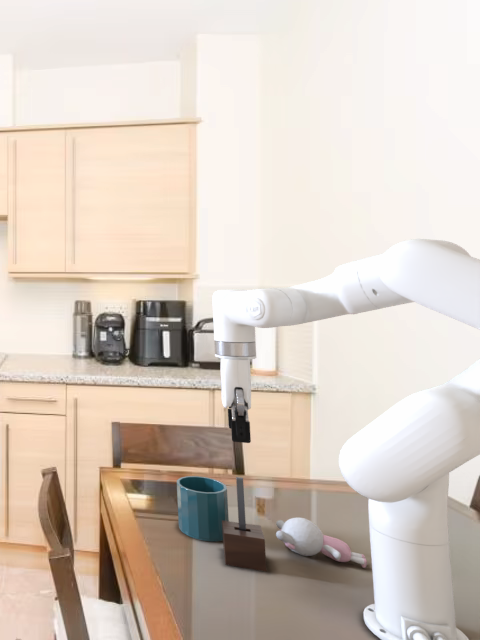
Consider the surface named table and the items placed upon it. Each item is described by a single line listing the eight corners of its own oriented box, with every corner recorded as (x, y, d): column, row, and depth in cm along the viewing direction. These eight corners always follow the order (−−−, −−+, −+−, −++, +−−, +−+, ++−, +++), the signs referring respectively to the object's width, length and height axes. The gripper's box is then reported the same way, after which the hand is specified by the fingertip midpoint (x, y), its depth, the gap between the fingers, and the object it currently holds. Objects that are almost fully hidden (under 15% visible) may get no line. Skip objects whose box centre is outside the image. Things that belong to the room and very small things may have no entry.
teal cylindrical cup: (231, 544, 107) (228, 496, 108) (178, 536, 111) (176, 489, 112) (227, 524, 117) (225, 479, 117) (179, 517, 121) (177, 473, 121)
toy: (351, 572, 103) (270, 529, 110) (365, 542, 102) (282, 500, 109) (359, 594, 96) (271, 546, 103) (374, 562, 95) (284, 515, 102)
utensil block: (266, 571, 97) (264, 539, 97) (225, 564, 100) (223, 533, 100) (262, 556, 103) (260, 525, 103) (223, 550, 105) (221, 520, 106)
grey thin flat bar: (250, 562, 100) (245, 478, 102) (238, 560, 101) (233, 477, 102) (250, 560, 101) (245, 477, 102) (238, 558, 102) (233, 476, 103)
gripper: (213, 344, 114) (216, 422, 113) (216, 354, 98) (220, 445, 97) (251, 345, 111) (255, 425, 110) (261, 356, 95) (266, 450, 94)
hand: (239, 435), depth 103 cm, fingers open, 9 cm apart
